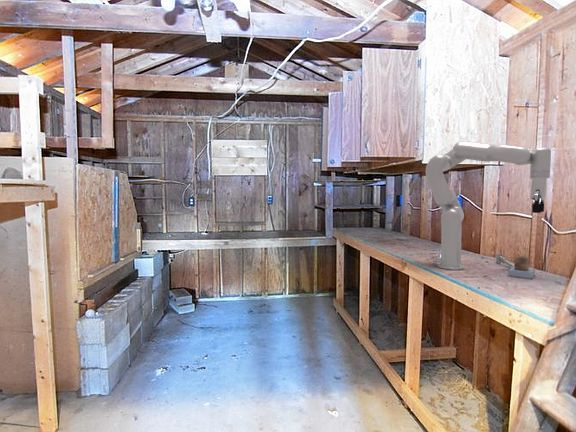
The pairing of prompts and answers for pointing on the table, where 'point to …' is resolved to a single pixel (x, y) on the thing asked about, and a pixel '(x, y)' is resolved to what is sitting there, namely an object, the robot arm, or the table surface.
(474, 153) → the robot arm
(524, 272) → the base block
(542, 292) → the table surface
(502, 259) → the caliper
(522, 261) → the walnut block
